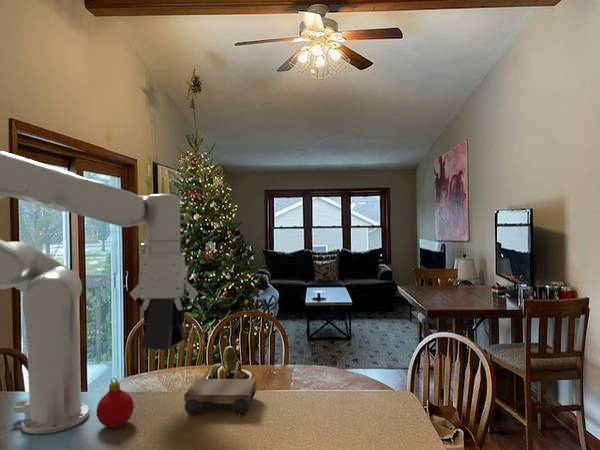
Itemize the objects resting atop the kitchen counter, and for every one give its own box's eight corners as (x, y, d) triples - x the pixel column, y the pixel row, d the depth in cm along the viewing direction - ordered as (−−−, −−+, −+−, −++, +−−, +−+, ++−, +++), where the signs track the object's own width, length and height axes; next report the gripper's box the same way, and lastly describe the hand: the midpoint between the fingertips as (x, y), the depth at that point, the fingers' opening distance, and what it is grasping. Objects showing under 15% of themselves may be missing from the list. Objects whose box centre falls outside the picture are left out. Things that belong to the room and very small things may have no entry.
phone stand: (167, 350, 95) (166, 295, 95) (142, 349, 96) (141, 295, 96) (185, 339, 104) (185, 288, 104) (162, 337, 105) (161, 288, 105)
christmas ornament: (89, 430, 88) (87, 381, 88) (117, 415, 95) (115, 369, 94) (114, 437, 85) (112, 386, 85) (141, 421, 92) (140, 374, 91)
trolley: (184, 415, 94) (184, 394, 93) (197, 397, 103) (196, 378, 102) (249, 415, 93) (248, 395, 93) (255, 397, 102) (255, 379, 102)
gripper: (118, 249, 96) (120, 330, 97) (195, 249, 95) (196, 331, 96) (133, 247, 104) (134, 322, 104) (205, 247, 103) (206, 322, 103)
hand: (164, 325), depth 100 cm, fingers closed on phone stand, 6 cm apart
